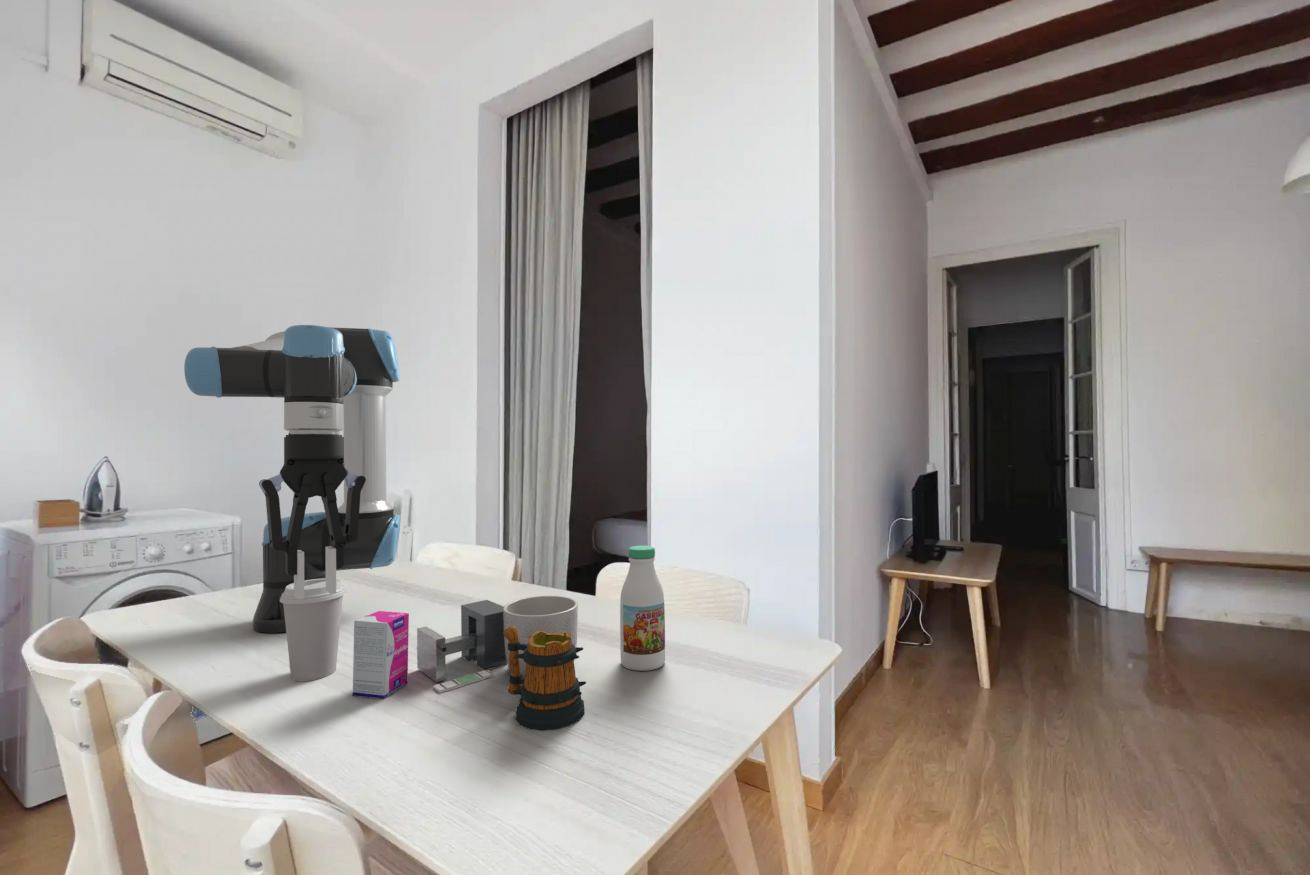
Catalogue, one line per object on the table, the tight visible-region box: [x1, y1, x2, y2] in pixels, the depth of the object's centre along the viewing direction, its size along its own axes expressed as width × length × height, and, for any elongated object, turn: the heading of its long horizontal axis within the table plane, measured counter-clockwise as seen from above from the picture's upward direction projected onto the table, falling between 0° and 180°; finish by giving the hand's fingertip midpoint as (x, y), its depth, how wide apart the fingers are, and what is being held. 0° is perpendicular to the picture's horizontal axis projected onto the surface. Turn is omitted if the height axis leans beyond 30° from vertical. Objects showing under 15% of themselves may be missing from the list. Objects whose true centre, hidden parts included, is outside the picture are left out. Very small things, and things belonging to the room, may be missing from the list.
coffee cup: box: [280, 578, 347, 682], centre depth 95 cm, size 10×10×15 cm
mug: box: [503, 626, 587, 732], centre depth 80 cm, size 13×10×12 cm
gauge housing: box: [460, 599, 508, 671], centre depth 100 cm, size 9×5×9 cm, turn 43°
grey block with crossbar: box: [416, 626, 477, 683], centre depth 96 cm, size 10×12×7 cm
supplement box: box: [351, 610, 410, 700], centre depth 88 cm, size 6×6×12 cm
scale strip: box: [432, 669, 495, 694], centre depth 90 cm, size 2×9×1 cm, turn 133°
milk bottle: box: [619, 545, 666, 672], centre depth 97 cm, size 8×8×20 cm
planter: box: [503, 595, 579, 678], centre depth 95 cm, size 12×12×11 cm
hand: (315, 593), depth 82 cm, fingers open, 3 cm apart
